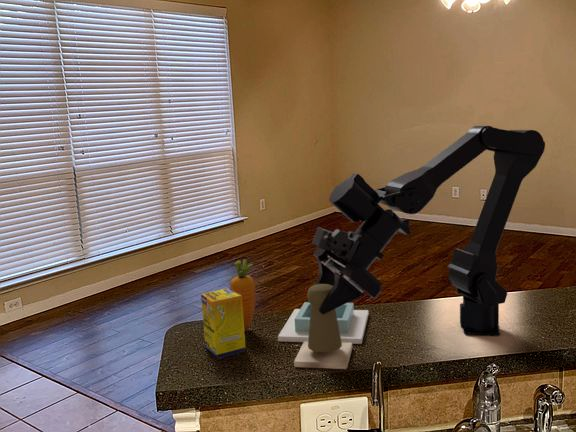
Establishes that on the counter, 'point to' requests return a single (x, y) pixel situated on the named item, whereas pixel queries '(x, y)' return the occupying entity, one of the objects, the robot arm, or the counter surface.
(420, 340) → the counter surface
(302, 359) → the pad
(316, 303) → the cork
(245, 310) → the carrot
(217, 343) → the supplement box
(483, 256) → the robot arm
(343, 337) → the housing
